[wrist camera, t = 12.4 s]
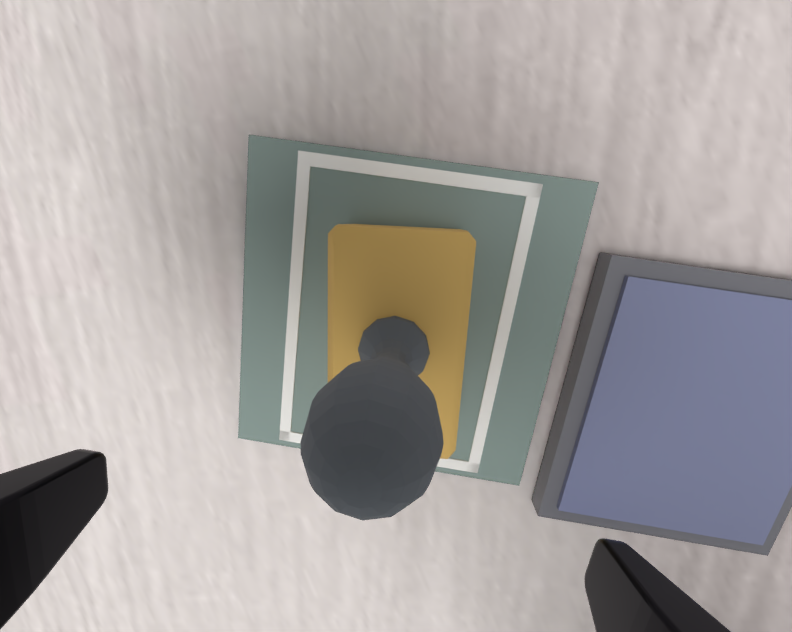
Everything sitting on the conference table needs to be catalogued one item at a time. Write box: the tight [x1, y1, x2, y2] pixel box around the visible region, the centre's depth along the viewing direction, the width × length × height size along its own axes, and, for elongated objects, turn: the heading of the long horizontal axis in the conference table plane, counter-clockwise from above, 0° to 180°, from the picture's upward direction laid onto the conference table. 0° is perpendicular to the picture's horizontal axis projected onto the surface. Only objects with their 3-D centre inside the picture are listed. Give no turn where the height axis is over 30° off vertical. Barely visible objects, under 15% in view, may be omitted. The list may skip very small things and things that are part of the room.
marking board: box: [238, 135, 599, 485], centre depth 19 cm, size 16×16×1 cm
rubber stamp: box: [300, 224, 476, 520], centre depth 13 cm, size 10×6×12 cm, turn 178°
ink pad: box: [532, 253, 792, 556], centre depth 18 cm, size 12×14×2 cm
